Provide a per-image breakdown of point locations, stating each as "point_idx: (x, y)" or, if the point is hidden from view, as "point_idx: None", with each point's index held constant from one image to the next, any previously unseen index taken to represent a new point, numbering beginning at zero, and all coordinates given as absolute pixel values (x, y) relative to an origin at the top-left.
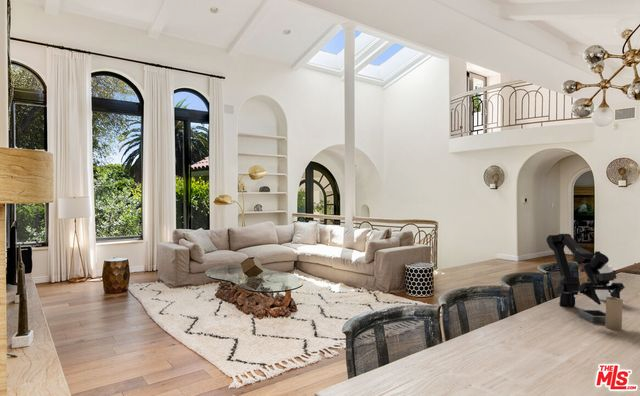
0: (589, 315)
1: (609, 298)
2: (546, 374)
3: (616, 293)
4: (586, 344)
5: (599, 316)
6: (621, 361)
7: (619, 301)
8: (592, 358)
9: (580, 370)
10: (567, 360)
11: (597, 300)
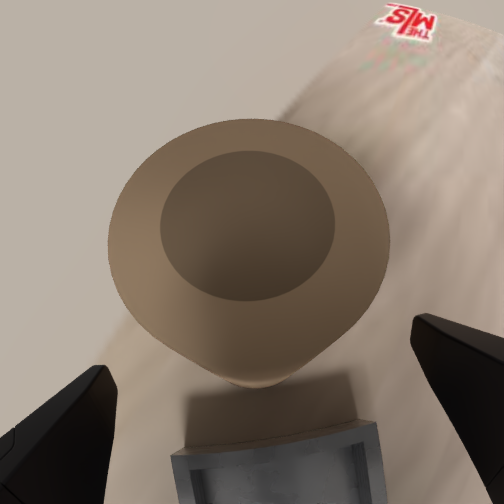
0: (380, 463)
1: (339, 232)
2: (491, 43)
3: (12, 485)
4: (454, 108)
5: (315, 440)
6: (383, 40)
7: (232, 127)
8: (440, 55)
9: (456, 37)
10: (479, 59)
11: (466, 335)
